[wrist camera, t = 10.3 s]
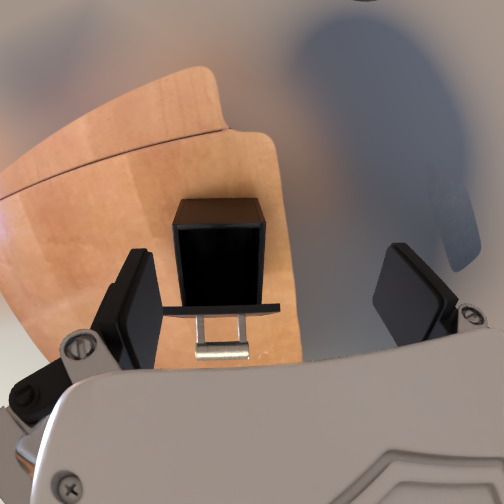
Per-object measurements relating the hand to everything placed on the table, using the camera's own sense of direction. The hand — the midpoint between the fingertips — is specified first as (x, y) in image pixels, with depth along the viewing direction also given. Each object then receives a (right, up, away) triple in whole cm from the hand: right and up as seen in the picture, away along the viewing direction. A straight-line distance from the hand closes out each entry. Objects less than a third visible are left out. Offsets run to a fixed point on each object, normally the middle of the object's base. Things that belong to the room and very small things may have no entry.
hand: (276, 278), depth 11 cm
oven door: (-4, -6, +22) cm, 23 cm away
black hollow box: (-6, +3, +33) cm, 34 cm away
